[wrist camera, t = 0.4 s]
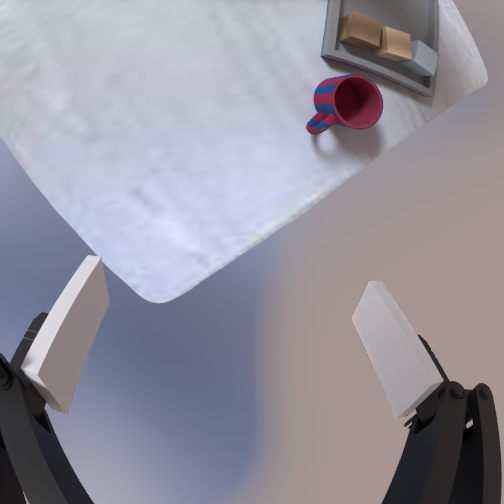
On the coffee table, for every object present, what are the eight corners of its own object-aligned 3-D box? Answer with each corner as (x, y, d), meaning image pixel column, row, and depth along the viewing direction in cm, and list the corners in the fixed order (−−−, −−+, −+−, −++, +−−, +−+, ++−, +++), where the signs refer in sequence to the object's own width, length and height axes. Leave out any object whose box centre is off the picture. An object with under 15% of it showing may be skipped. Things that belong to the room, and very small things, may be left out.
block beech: (371, 31, 25) (385, 26, 21) (394, 38, 25) (410, 34, 21) (373, 55, 27) (388, 52, 23) (396, 61, 27) (412, 59, 23)
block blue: (403, 42, 25) (419, 39, 22) (423, 56, 26) (438, 54, 23) (398, 62, 27) (414, 61, 24) (418, 75, 28) (434, 75, 24)
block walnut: (341, 18, 24) (353, 11, 20) (367, 27, 24) (381, 22, 21) (338, 41, 26) (351, 35, 22) (365, 50, 26) (379, 46, 23)
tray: (333, -52, 17) (338, -58, 15) (430, -7, 19) (437, -9, 17) (320, 56, 28) (326, 54, 26) (424, 96, 30) (432, 97, 28)
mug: (366, 110, 32) (391, 114, 26) (310, 144, 34) (327, 153, 28) (343, 70, 29) (366, 65, 23) (283, 103, 31) (295, 103, 25)
